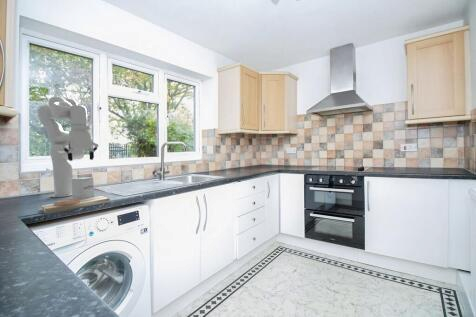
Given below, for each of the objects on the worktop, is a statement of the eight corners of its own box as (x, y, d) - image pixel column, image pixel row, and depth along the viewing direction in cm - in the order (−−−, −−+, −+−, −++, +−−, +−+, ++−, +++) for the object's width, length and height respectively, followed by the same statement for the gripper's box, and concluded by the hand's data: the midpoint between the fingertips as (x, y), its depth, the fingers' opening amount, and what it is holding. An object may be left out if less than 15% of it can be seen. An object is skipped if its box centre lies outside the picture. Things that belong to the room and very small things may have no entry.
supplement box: (83, 202, 123) (82, 178, 122) (72, 202, 124) (70, 178, 124) (95, 199, 130) (93, 176, 130) (83, 199, 132) (82, 177, 131)
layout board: (41, 209, 109) (40, 203, 109) (101, 199, 129) (101, 194, 128) (46, 213, 102) (46, 206, 102) (109, 202, 121) (109, 196, 121)
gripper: (94, 129, 134) (96, 159, 135) (57, 128, 121) (60, 161, 122) (99, 128, 130) (101, 159, 130) (61, 127, 116) (63, 161, 117)
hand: (81, 160), depth 126 cm, fingers open, 9 cm apart
